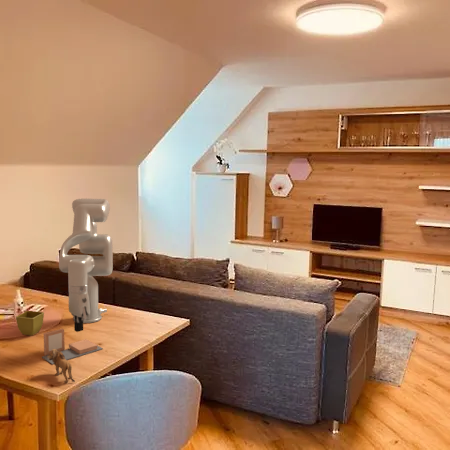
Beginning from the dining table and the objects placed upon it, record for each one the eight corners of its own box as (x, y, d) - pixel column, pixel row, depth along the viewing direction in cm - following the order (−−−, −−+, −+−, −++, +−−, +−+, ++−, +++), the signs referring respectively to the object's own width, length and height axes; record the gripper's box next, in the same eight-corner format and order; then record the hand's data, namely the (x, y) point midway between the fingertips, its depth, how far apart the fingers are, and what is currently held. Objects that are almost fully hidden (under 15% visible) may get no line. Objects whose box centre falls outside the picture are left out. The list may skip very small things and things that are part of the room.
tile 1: (62, 349, 194) (62, 328, 193) (64, 350, 193) (64, 329, 191) (44, 354, 188) (43, 333, 187) (46, 355, 187) (45, 334, 186)
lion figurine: (45, 373, 172) (45, 349, 171) (58, 368, 176) (58, 345, 175) (68, 385, 163) (67, 361, 162) (81, 380, 167) (81, 356, 166)
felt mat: (91, 343, 201) (91, 342, 201) (102, 349, 195) (102, 348, 195) (41, 357, 185) (41, 356, 185) (52, 364, 179) (52, 363, 179)
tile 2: (86, 339, 200) (97, 345, 193) (86, 343, 200) (97, 349, 194) (68, 344, 194) (79, 350, 188) (68, 348, 194) (79, 354, 188)
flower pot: (33, 337, 205) (32, 318, 204) (15, 336, 207) (15, 316, 206) (45, 331, 214) (44, 312, 212) (28, 329, 215) (27, 310, 214)
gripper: (95, 290, 191) (96, 333, 193) (77, 283, 201) (78, 323, 204) (79, 294, 185) (79, 338, 188) (60, 286, 195) (61, 327, 198)
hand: (78, 330), depth 196 cm, fingers closed
